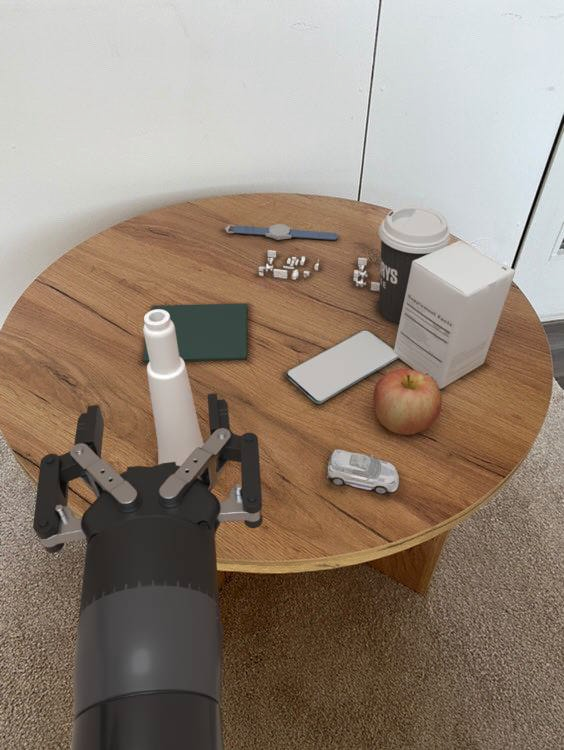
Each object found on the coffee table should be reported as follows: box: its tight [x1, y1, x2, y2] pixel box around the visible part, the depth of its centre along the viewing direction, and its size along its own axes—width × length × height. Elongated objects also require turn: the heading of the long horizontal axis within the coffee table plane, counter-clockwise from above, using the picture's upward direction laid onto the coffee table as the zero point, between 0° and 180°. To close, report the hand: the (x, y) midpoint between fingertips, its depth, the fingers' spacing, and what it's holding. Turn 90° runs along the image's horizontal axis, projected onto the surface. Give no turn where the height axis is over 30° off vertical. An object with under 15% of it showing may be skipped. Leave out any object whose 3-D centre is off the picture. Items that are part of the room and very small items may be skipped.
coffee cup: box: [377, 205, 451, 325], centre depth 82 cm, size 10×10×15 cm
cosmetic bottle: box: [142, 309, 205, 466], centre depth 58 cm, size 6×6×22 cm
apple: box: [373, 368, 443, 436], centre depth 68 cm, size 8×8×8 cm
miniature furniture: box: [258, 249, 380, 292], centre depth 93 cm, size 7×25×2 cm, turn 77°
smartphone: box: [285, 329, 399, 405], centre depth 78 cm, size 7×1×15 cm
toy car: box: [326, 449, 400, 495], centre depth 64 cm, size 4×8×3 cm, turn 76°
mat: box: [142, 303, 248, 363], centre depth 83 cm, size 14×12×1 cm
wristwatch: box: [224, 223, 339, 241], centre depth 102 cm, size 4×20×1 cm, turn 83°
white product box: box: [393, 240, 516, 390], centre depth 74 cm, size 9×9×15 cm
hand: (155, 406), depth 43 cm, fingers open, 8 cm apart
